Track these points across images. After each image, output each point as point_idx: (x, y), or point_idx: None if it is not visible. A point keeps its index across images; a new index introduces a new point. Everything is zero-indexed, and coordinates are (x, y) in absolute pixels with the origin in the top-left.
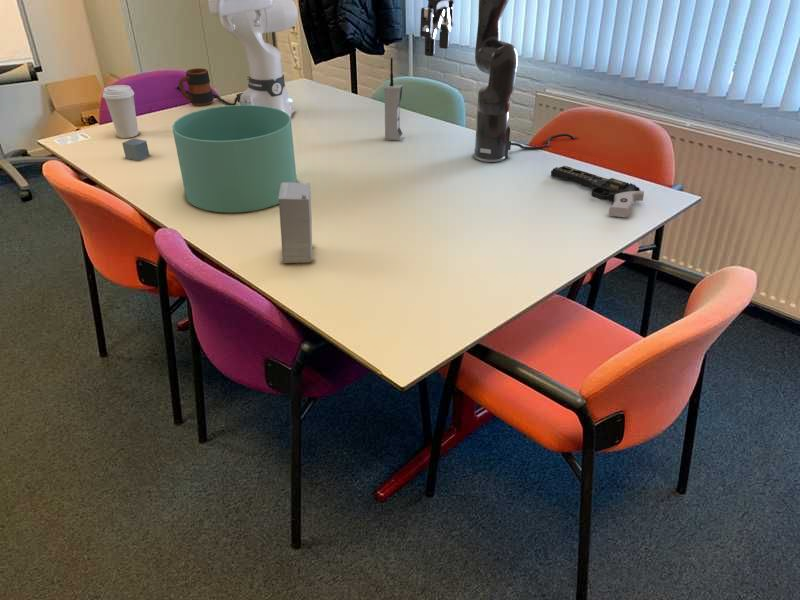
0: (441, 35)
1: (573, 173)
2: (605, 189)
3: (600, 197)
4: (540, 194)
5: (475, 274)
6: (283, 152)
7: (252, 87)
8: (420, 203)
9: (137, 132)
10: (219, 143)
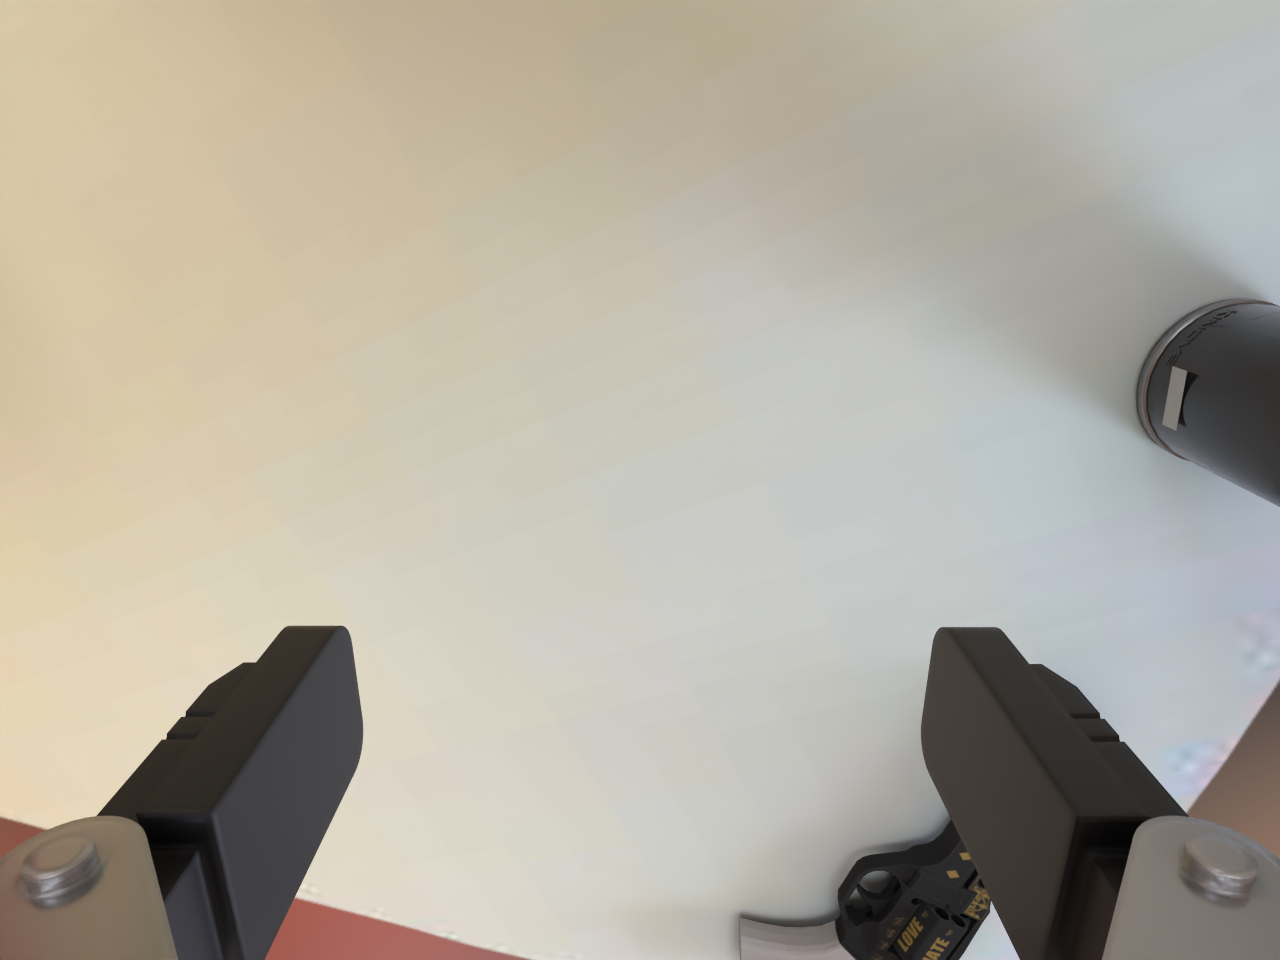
0: (1024, 798)
1: None
2: (889, 908)
3: (843, 890)
4: (836, 695)
5: (130, 680)
6: None
7: None
8: (531, 289)
9: None
10: None
